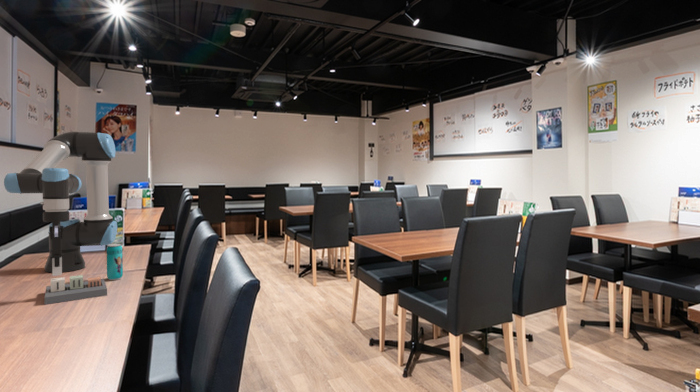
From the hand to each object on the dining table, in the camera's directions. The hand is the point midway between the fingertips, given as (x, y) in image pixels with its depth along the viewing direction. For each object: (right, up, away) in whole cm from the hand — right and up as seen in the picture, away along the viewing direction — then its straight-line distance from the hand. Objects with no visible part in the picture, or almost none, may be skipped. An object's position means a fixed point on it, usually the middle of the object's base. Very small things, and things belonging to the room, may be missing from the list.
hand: (57, 275), depth 134 cm
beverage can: (+5, -7, +24) cm, 26 cm away
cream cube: (0, -6, +1) cm, 6 cm away
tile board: (+4, -8, +4) cm, 10 cm away
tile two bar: (+4, -6, +4) cm, 8 cm away
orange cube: (+9, -7, +7) cm, 13 cm away
